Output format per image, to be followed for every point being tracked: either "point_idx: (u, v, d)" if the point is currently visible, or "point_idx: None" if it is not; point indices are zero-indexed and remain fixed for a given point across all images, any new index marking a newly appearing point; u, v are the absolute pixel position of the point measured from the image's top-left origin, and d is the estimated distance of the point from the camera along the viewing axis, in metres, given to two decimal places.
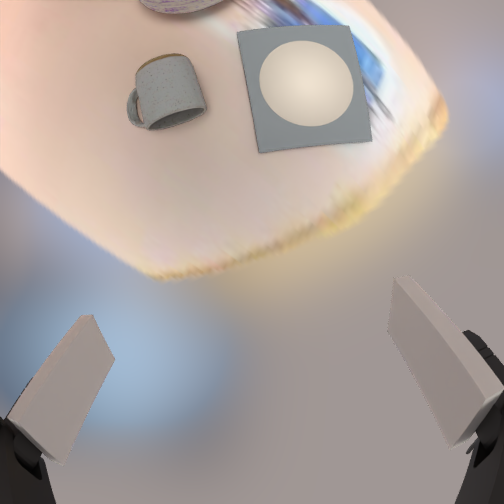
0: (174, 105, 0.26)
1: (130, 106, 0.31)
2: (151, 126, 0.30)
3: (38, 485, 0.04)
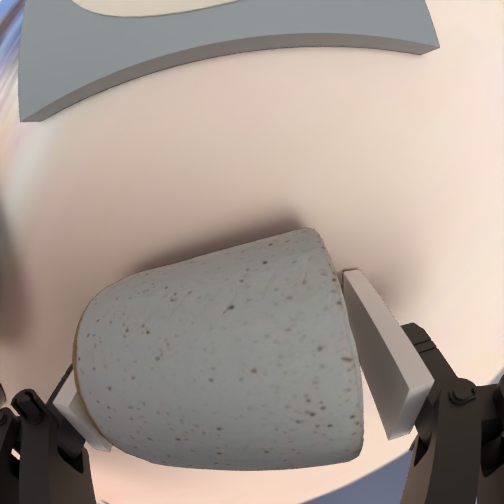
0: (329, 429, 0.05)
1: None
2: None
3: (79, 480, 0.05)
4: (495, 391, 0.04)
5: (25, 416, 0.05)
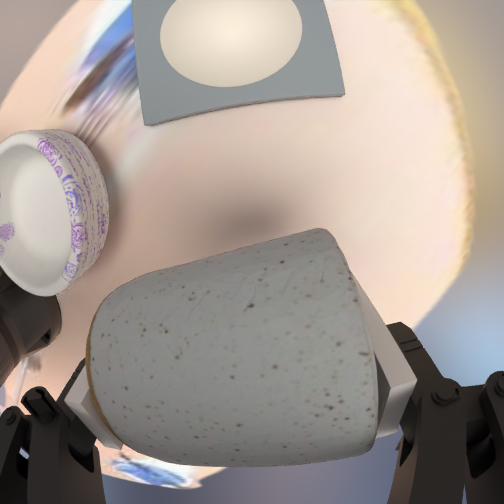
0: (345, 422, 0.05)
1: None
2: None
3: (89, 479, 0.05)
4: (481, 393, 0.05)
5: (35, 414, 0.05)
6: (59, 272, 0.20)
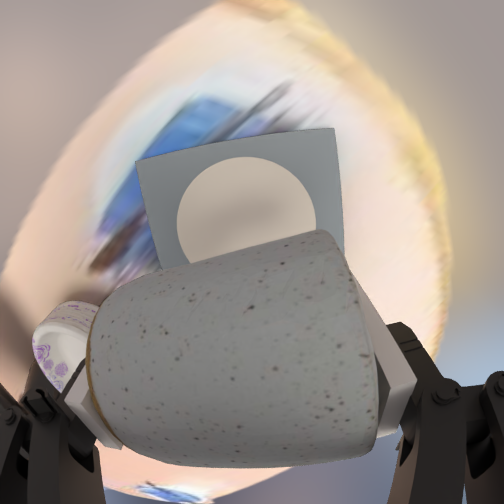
0: (346, 424, 0.05)
1: None
2: None
3: (89, 479, 0.05)
4: (481, 393, 0.05)
5: (35, 414, 0.05)
6: None
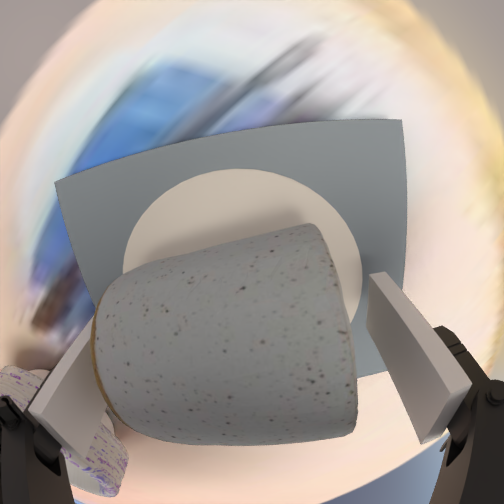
0: (327, 397, 0.06)
1: None
2: None
3: (57, 482, 0.04)
4: None
5: (3, 422, 0.05)
6: (93, 483, 0.16)
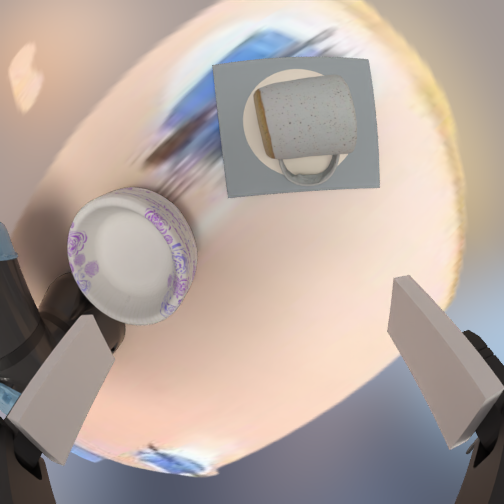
0: (343, 97, 0.19)
1: (301, 180, 0.28)
2: None
3: (38, 485, 0.04)
4: None
5: None
6: (153, 308, 0.30)
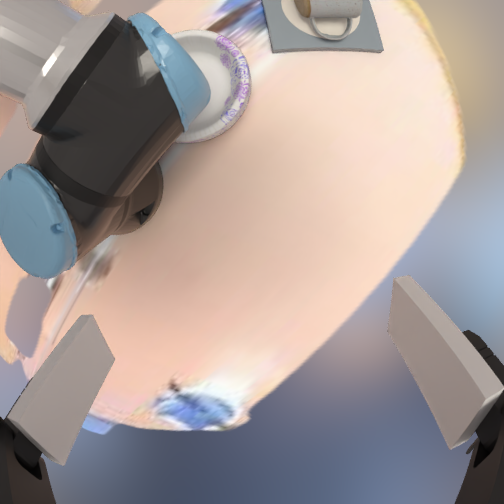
0: None
1: (328, 36, 0.29)
2: None
3: (38, 485, 0.04)
4: None
5: None
6: (211, 122, 0.30)
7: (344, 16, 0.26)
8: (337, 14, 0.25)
